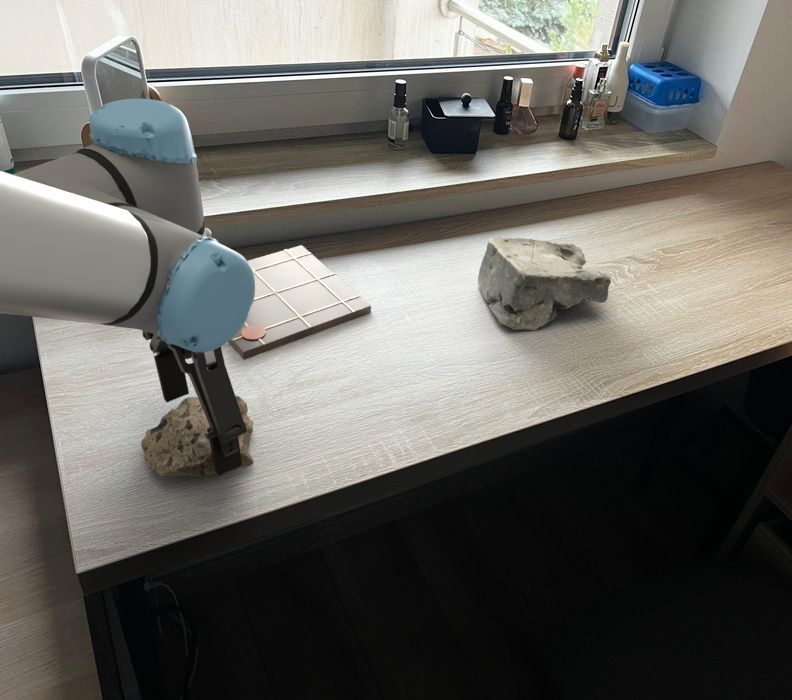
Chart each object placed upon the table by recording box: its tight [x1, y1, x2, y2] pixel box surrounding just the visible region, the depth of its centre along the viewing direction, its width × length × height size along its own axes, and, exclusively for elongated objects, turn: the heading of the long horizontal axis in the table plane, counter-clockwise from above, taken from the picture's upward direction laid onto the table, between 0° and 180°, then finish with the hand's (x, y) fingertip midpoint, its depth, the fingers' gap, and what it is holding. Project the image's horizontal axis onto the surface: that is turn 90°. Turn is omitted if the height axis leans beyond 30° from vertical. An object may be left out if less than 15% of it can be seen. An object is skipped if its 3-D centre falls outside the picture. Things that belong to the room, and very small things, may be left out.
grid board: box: [228, 244, 372, 360], centre depth 106 cm, size 20×20×1 cm
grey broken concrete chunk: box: [477, 236, 612, 331], centre depth 111 cm, size 16×18×10 cm
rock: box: [140, 395, 255, 478], centre depth 81 cm, size 11×12×4 cm
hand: (201, 430), depth 81 cm, fingers open, 13 cm apart
